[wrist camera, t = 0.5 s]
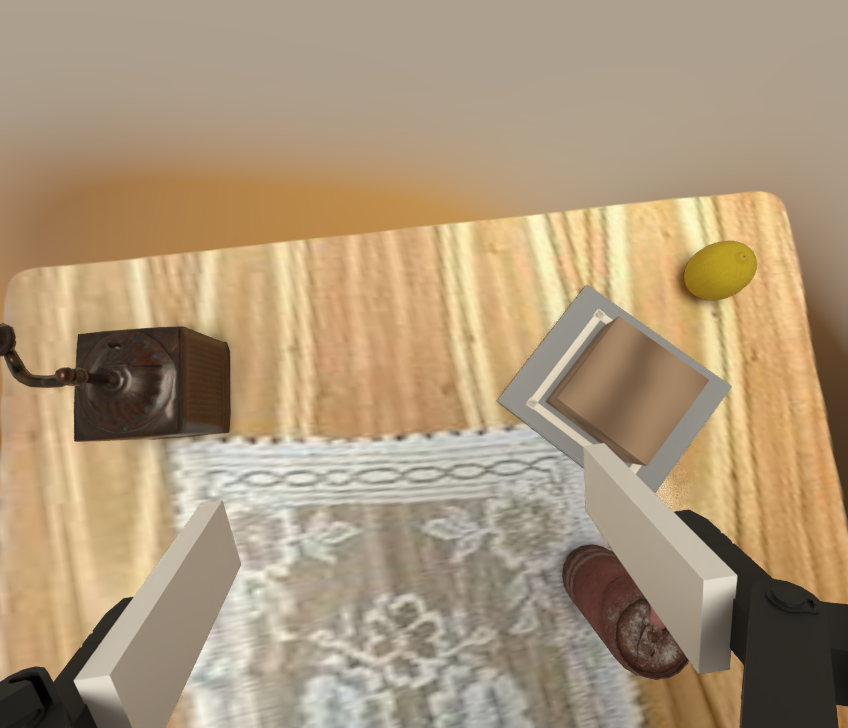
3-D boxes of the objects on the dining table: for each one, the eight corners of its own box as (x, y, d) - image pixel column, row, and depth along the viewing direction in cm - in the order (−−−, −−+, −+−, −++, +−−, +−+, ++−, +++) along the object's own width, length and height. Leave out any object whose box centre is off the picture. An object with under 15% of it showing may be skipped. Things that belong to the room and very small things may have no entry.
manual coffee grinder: (230, 336, 51) (114, 285, 33) (231, 434, 50) (110, 436, 32) (98, 347, 52) (-84, 303, 34) (95, 444, 50) (-99, 452, 32)
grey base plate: (725, 387, 47) (732, 386, 46) (637, 509, 46) (642, 511, 45) (584, 287, 50) (587, 284, 49) (496, 401, 48) (497, 400, 47)
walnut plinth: (681, 385, 47) (709, 380, 42) (625, 462, 46) (647, 466, 41) (601, 327, 48) (619, 316, 43) (545, 401, 47) (556, 398, 42)
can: (616, 537, 46) (688, 583, 32) (627, 603, 45) (708, 680, 31) (556, 544, 46) (602, 593, 32) (566, 610, 45) (619, 690, 31)
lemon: (679, 314, 49) (724, 291, 41) (663, 266, 50) (704, 235, 42) (729, 302, 49) (784, 277, 41) (713, 254, 50) (763, 221, 42)
